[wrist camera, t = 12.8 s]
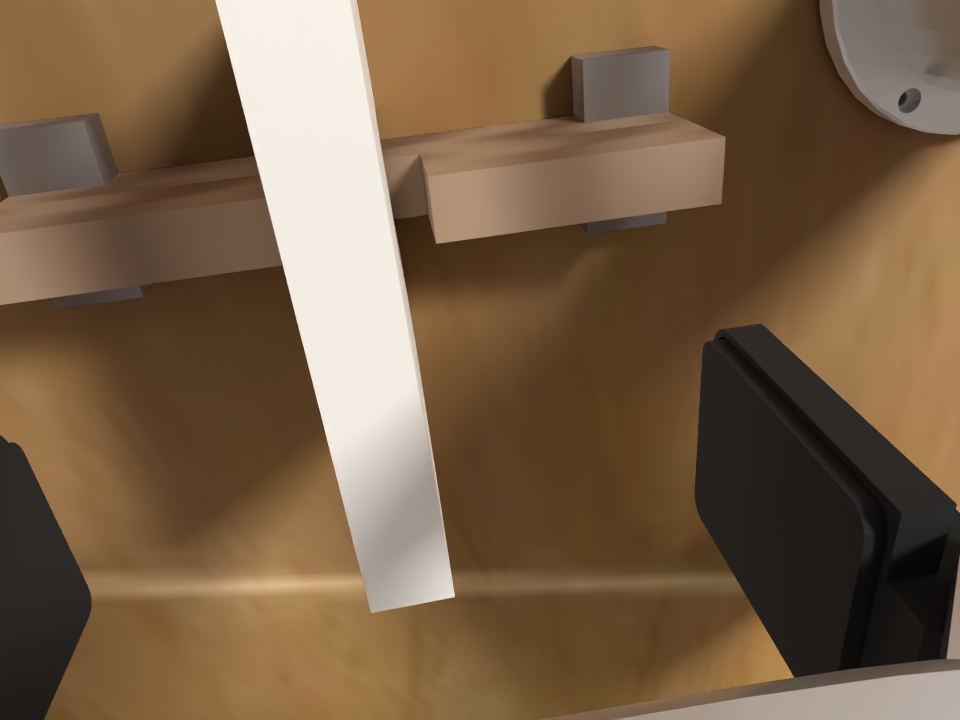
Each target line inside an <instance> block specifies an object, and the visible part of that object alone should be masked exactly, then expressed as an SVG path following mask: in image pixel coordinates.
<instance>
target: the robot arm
mask: <svg viewBox="0 0 960 720" xmlns="http://www.w3.org/2000/svg"><path fill="white" fill-rule="evenodd" d="M820 16H821V21H822V26H823V31H824V36H825V41H826V46H827V48H828V50H829V53H830V55H831V58H832V60H833V62H834V65H835V67H836V70H837V72H838V74H839V75H840V77H841V78H842V80H843V81H844V82H845V84H846V85H847V87H848V88H849V89H850V91H851V92H852V94H853V95H854V96H855V97H856V98H857V99H858V100H859V101H860V102H862V103H863V104H864V105H865V106H866V107H868V108H869V109H870V110H871V111H872V112H873V113H875V114H876V115H878V116H880V117H882V118H885V119H887V120H889V121H891V122H893V123H895V124H897V125H899V126H903V127H907V128H911V129H915V130H919V131H922V132H925V133H936V134H948V135H957V134H960V0H820ZM695 501H696V506H697V510H698V513H699V516H700V518H701V520H702V521H703V523H704V525H705V527H706V528H707V530H708V532H709V533H710V535H711V537H712V538H713V540H714V542H715V544H716V545H717V547H718V549H719V550H720V552H721V554H722V555H723V557H724V559H725V560H726V562H727V564H728V566H729V567H730V569H731V571H732V572H733V574H734V576H735V577H736V579H737V581H738V583H739V584H740V586H741V588H742V589H743V591H744V593H745V594H746V596H747V598H748V599H749V601H750V603H751V605H752V606H753V608H754V610H755V611H756V613H757V615H758V616H759V618H760V620H761V622H762V623H763V625H764V627H765V628H766V630H767V632H768V633H769V635H770V637H771V638H772V640H773V642H774V644H775V645H776V647H777V649H778V650H779V652H780V654H781V655H782V657H783V659H784V661H785V662H786V664H787V666H788V667H789V669H790V671H791V672H792V674H793V676H794V677H795V678H790V679H783V680H777V681H770V682H764V683H757V684H751V685H744V686H738V687H731V688H724V689H718V690H711V691H705V692H699V693H693V694H688V695H682V696H676V697H670V698H664V699H658V700H652V701H646V702H640V703H635V704H629V705H623V706H617V707H611V708H605V709H599V710H593V711H588V712H582V713H576V714H570V715H564V716H558V717H552V718H546V719H541V720H960V513H959V512H958V511H957V510H956V505H957V504H956V503H955V502H954V501H953V500H952V499H951V498H950V497H949V496H947V495H946V494H945V493H944V492H943V491H942V490H941V489H940V488H939V487H938V486H937V485H936V484H934V483H933V482H932V481H931V480H930V479H929V478H928V477H927V476H926V475H925V474H924V473H923V472H921V471H920V470H919V469H918V468H917V467H916V466H915V465H914V464H913V463H912V462H911V461H910V460H908V459H907V458H906V457H905V456H904V455H903V454H902V453H901V452H900V451H899V450H898V449H897V448H895V447H894V446H893V445H892V444H891V443H890V442H889V441H888V440H887V439H886V438H885V437H884V436H882V435H881V434H880V433H879V432H878V431H877V430H876V429H875V428H874V427H873V426H872V425H871V424H869V423H868V422H867V421H866V420H865V419H864V418H863V417H862V416H861V415H860V414H859V413H858V412H856V411H855V410H854V409H853V408H852V407H851V406H850V405H849V404H848V403H847V402H846V401H845V400H843V399H842V398H841V397H840V396H839V395H838V394H837V393H836V392H835V391H834V390H833V389H832V388H831V387H829V386H828V385H827V384H826V383H825V382H824V381H823V380H822V379H821V378H820V377H819V376H818V375H816V374H815V373H814V372H813V371H812V370H811V369H810V368H809V367H808V366H807V365H806V364H805V363H803V362H802V361H801V360H800V359H799V358H798V357H797V356H796V355H795V354H794V353H793V352H792V351H790V350H789V349H788V348H787V347H786V346H785V345H784V344H783V343H782V342H781V341H780V340H779V339H777V338H776V337H775V336H774V335H773V334H772V333H771V332H770V331H769V330H768V329H767V328H766V327H764V326H763V325H761V324H756V325H749V326H742V327H735V328H728V329H721V330H719V331H718V332H717V333H716V335H715V338H714V341H709V342H706V343H705V345H704V347H703V354H702V371H701V389H700V407H699V425H698V443H697V461H696V479H695ZM90 612H91V594H90V590H89V588H88V585H87V583H86V581H85V579H84V577H83V575H82V573H81V571H80V569H79V567H78V564H77V562H76V560H75V558H74V556H73V554H72V552H71V550H70V548H69V546H68V544H67V541H66V539H65V537H64V535H63V533H62V531H61V529H60V527H59V525H58V523H57V521H56V518H55V516H54V514H53V512H52V510H51V508H50V506H49V504H48V502H47V500H46V498H45V495H44V493H43V491H42V489H41V487H40V485H39V483H38V481H37V479H36V477H35V474H34V472H33V470H32V468H31V466H30V464H29V462H28V460H27V458H26V456H25V454H24V452H23V450H22V449H21V447H20V446H19V445H17V444H16V443H13V442H11V443H8V442H7V440H5V439H4V438H3V437H2V436H0V720H44V718H45V716H46V713H47V711H48V709H49V707H50V704H51V702H52V700H53V698H54V695H55V693H56V691H57V689H58V686H59V684H60V682H61V679H62V677H63V675H64V673H65V670H66V668H67V666H68V664H69V661H70V659H71V657H72V655H73V652H74V650H75V648H76V646H77V643H78V641H79V639H80V636H81V634H82V632H83V630H84V627H85V625H86V623H87V621H88V618H89V615H90Z"/></svg>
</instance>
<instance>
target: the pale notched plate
mask: <svg viewBox="0 0 960 720" xmlns="http://www.w3.org/2000/svg"><path fill="white" fill-rule="evenodd" d="M216 4H217V8H218V12H219V16H220V20H221V24H222V28H223V32H224V36H225V40H226V44H227V48H228V51H229V55H230V59H231V63H232V67H233V71H234V75H235V79H236V83H237V87H238V91H239V95H240V99H241V103H242V107H243V110H244V114H245V118H246V122H247V126H248V130H249V134H250V138H251V142H252V146H253V150H254V154H255V158H256V162H257V166H258V169H259V173H260V177H261V181H262V185H263V189H264V193H265V197H266V201H267V205H268V209H269V213H270V217H271V221H272V225H273V228H274V232H275V236H276V240H277V244H278V248H279V252H280V256H281V260H282V264H283V268H284V272H285V276H286V280H287V284H288V287H289V291H290V295H291V299H292V303H293V307H294V311H295V315H296V319H297V323H298V327H299V331H300V335H301V339H302V343H303V346H304V350H305V354H306V358H307V362H308V366H309V370H310V374H311V378H312V382H313V386H314V390H315V394H316V398H317V402H318V406H319V409H320V413H321V417H322V421H323V425H324V429H325V433H326V437H327V441H328V445H329V449H330V453H331V457H332V461H333V465H334V468H335V472H336V476H337V480H338V484H339V488H340V492H341V496H342V500H343V504H344V508H345V512H346V516H347V520H348V524H349V527H350V531H351V535H352V539H353V543H354V547H355V551H356V555H357V559H358V563H359V567H360V571H361V575H362V579H363V583H364V586H365V590H366V594H367V598H368V602H369V606H370V610H371V613H375V612H380V611H385V610H390V609H395V608H400V607H406V606H411V605H416V604H421V603H426V602H432V601H437V600H442V599H447V598H452V597H455V594H454V588H453V581H452V575H451V568H450V562H449V555H448V549H447V542H446V536H445V530H444V523H443V517H442V510H441V504H440V497H439V491H438V484H437V478H436V471H435V465H434V458H433V452H432V446H431V439H430V433H429V426H428V420H427V413H426V407H425V400H424V394H423V387H422V381H421V375H420V368H419V362H418V355H417V349H416V342H415V336H414V331H413V325H412V319H411V313H410V307H409V301H408V296H407V290H406V284H405V278H404V272H403V267H402V261H401V255H400V249H399V243H398V238H397V232H396V227H395V225H394V219H393V213H392V207H391V202H390V196H389V190H388V184H387V179H386V173H385V167H384V161H383V155H382V150H381V144H380V138H379V132H378V126H377V120H376V112H375V104H374V98H373V92H372V87H371V81H370V75H369V69H368V63H367V58H366V52H365V46H364V40H363V34H362V28H361V23H360V17H359V11H358V5H357V0H216Z"/></svg>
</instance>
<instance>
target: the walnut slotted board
mask: <svg viewBox="0 0 960 720" xmlns="http://www.w3.org/2000/svg"><path fill="white" fill-rule="evenodd" d="M571 61H572V91H573V116H565V117H557V118H549V119H542V120H534V121H526V122H518V123H510V124H502V125H495V126H487V127H479V128H471V129H463V130H456V131H448V132H440V133H432V134H424V135H416V136H409V137H401V138H393V139H385V140H380V144H381V150H382V155H383V161H384V167H385V173H386V179H387V184H388V190H389V196H390V202H391V207H392V213H393V219H401V218H408V217H416V216H423V215H428V217H429V220H430V224H431V227H432V231H433V234H434V237H435V241H436V244H439V243H446V242H453V241H460V240H467V239H474V238H481V237H489V236H496V235H503V234H510V233H517V232H524V231H531V230H538V229H546V228H553V227H560V226H567V225H574V224H579V225H580V226H581V228H582V229H583V230H584V231H585V232H586V233H587V234H594V233H601V232H608V231H616V230H623V229H630V228H637V227H644V226H651V225H658V224H665V223H666V212H667V211H674V210H681V209H688V208H695V207H702V206H709V205H717V204H722V190H723V173H724V157H725V141H726V137H724V136H722V135H720V134H718V133H715V132H713V131H711V130H709V129H706V128H704V127H702V126H700V125H697V124H695V123H693V122H691V121H688V120H686V119H684V118H682V117H679V116H677V115H675V114H673V113H670V112H669V90H670V50H669V49H665V48H661V47H657V46H650V47H642V48H634V49H625V50H617V51H609V52H601V53H592V54H584V55H576V56H571ZM0 176H1V179H2V181H3V184H4V186H5V189H6V191H7V194H8V196H9V197H8V198H6V199H5V200H3V201H2V202H0V305H4V304H11V303H18V302H25V301H33V300H40V299H47V298H50V300H51V302H52V305H53V307H54V310H58V309H65V308H72V307H79V306H86V305H93V304H100V303H107V302H115V301H122V300H129V299H136V298H143V297H144V295H145V294H146V292H147V291H148V289H149V288H150V286H151V285H152V284H154V283H161V282H168V281H175V280H182V279H189V278H196V277H204V276H211V275H218V274H225V273H232V272H239V271H246V270H253V269H261V268H268V267H275V266H282V265H283V264H282V260H281V256H280V252H279V248H278V244H277V240H276V236H275V232H274V228H273V225H272V221H271V217H270V213H269V209H268V205H267V201H266V197H265V193H264V189H263V185H262V181H261V177H260V173H259V169H258V166H257V162H256V158H255V156H252V157H244V158H236V159H228V160H221V161H213V162H205V163H197V164H189V165H182V166H174V167H166V168H158V169H150V170H142V171H135V172H127V173H119V174H118V172H117V169H116V166H115V163H114V160H113V157H112V154H111V151H110V148H109V145H108V142H107V139H106V136H105V133H104V130H103V127H102V124H101V120H100V117H99V114H98V113H96V114H87V115H79V116H71V117H63V118H54V119H46V120H38V121H30V122H21V123H13V124H5V125H2V126H0Z"/></svg>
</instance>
